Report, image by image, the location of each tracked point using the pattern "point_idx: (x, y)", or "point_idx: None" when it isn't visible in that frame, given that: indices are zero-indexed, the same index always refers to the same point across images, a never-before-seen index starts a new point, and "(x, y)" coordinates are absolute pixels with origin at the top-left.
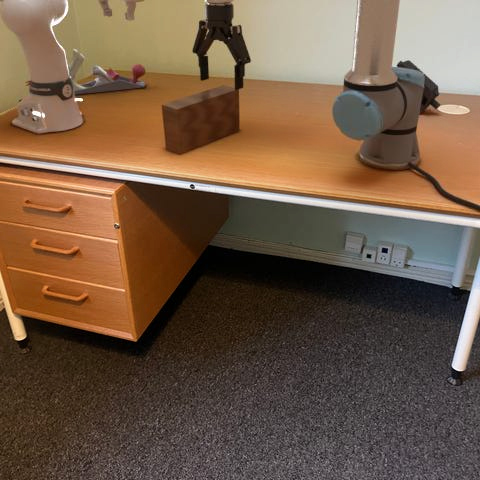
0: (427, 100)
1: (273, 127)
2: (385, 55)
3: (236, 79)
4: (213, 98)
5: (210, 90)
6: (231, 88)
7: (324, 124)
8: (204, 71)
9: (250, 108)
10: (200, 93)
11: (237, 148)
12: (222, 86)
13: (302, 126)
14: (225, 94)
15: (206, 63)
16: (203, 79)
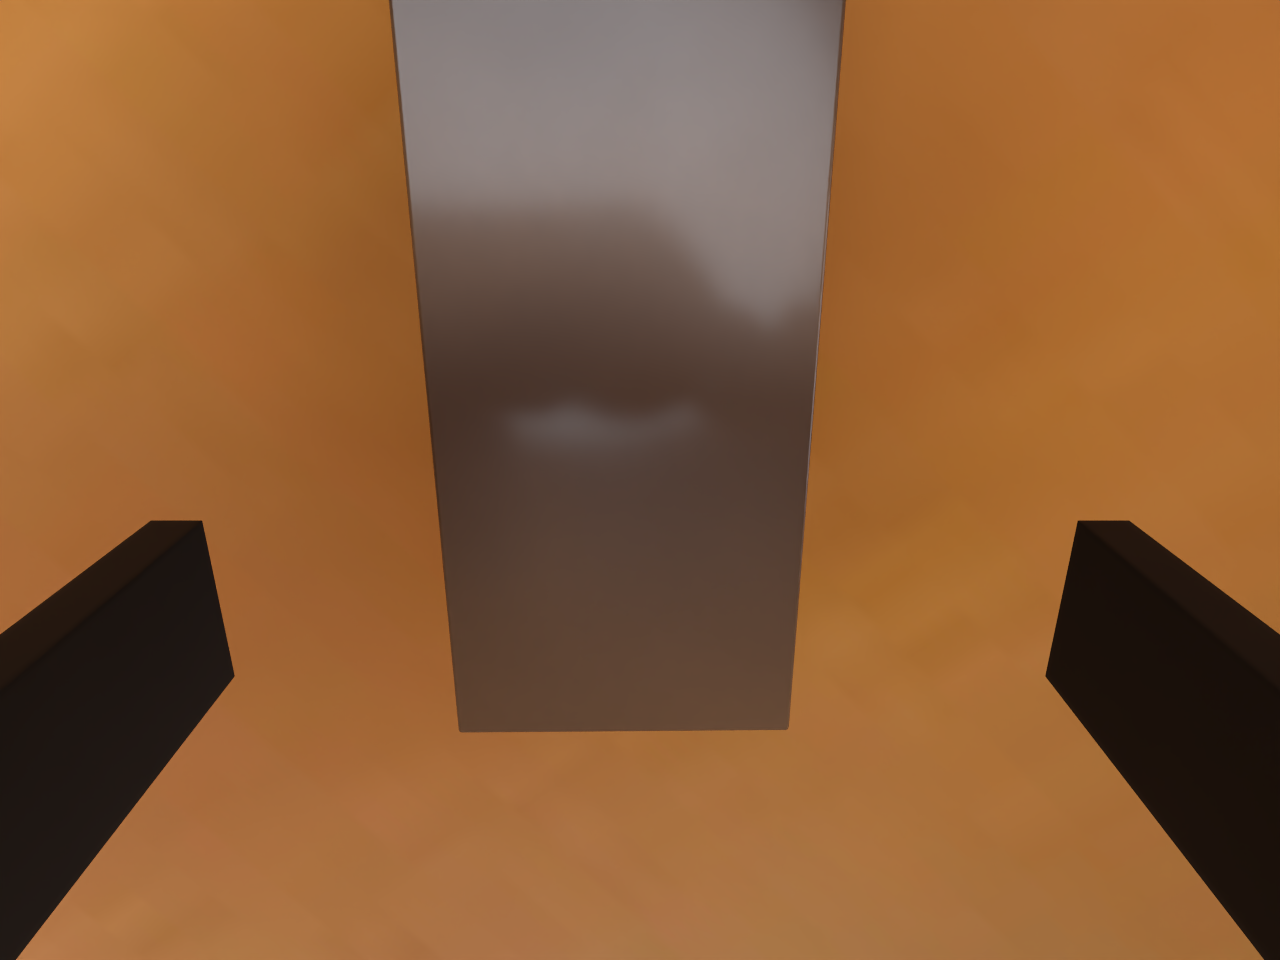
0: None
1: (376, 703)
2: None
3: (21, 622)
4: (407, 130)
5: (754, 402)
6: (557, 680)
7: (158, 946)
8: (1157, 677)
9: (832, 887)
10: (776, 142)
11: (191, 128)
12: (747, 671)
13: (234, 839)
14: (434, 440)
15: (1253, 869)
16: (1082, 560)
